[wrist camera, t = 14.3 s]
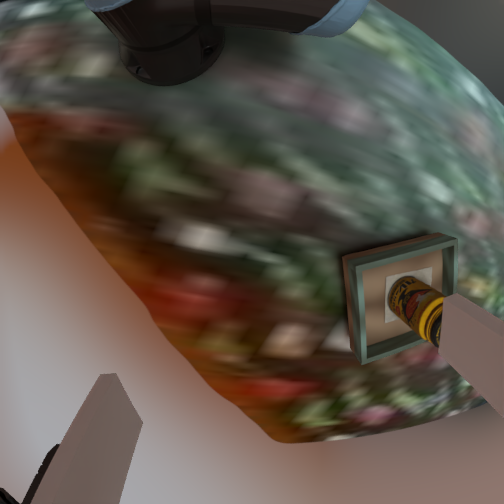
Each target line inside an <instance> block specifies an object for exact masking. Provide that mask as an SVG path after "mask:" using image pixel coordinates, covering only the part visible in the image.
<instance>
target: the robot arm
mask: <svg viewBox="0 0 504 504" xmlns="http://www.w3.org/2000/svg"><path fill="white" fill-rule="evenodd" d="M84 1H85V4H86V6H87V7H88V8H89V9H90V10H91V11H92V12H93V13H94V14H95V15H96V16H97V17H98V18H99V19H100V20H101V21H102V22H103V23H104V24H105V25H106V26H107V28H108V29H109V30H110V31H111V32H112V33H113V34H114V35H115V36H116V37H117V38H118V42H119V53H120V57H121V60H122V62H123V64H124V66H125V67H126V68H127V69H128V71H129V72H130V73H131V74H132V75H133V76H135V77H136V78H137V79H139V80H141V81H143V82H145V83H148V84H151V85H158V86H169V85H176V84H180V83H184V82H186V81H189V80H191V79H193V78H195V77H197V76H199V75H200V74H202V73H203V72H205V71H206V70H207V69H208V68H209V67H210V66H211V65H212V64H213V63H214V62H215V61H216V60H217V58H218V57H219V55H220V53H221V51H222V48H223V45H224V39H225V33H224V26H231V27H246V28H258V29H267V30H276V31H283V32H289V33H290V34H292V35H303V34H305V35H312V36H318V37H325V38H326V37H334V36H336V35H340V34H342V33H344V32H345V31H347V30H348V29H349V28H351V27H352V26H353V25H354V24H355V22H356V21H357V20H358V19H359V17H360V16H361V15H362V13H363V11H364V10H365V8H366V6H367V5H368V3H369V0H84ZM438 354H439V355H440V356H442V357H443V358H444V359H445V360H446V361H447V362H448V363H449V364H450V365H451V366H452V367H453V368H454V369H455V370H456V371H457V372H458V373H459V374H460V375H461V376H462V377H463V378H464V379H465V380H466V381H467V382H468V383H469V384H471V385H472V386H473V387H474V388H475V389H476V390H477V391H478V392H479V393H480V394H481V395H482V396H483V397H484V398H485V400H486V401H487V402H488V403H489V404H490V405H491V406H492V407H493V408H495V410H496V411H497V412H498V413H499V414H500V415H501V416H502V417H503V418H504V322H503V321H502V320H500V319H499V318H497V317H495V316H494V315H492V314H491V313H489V312H487V311H486V310H484V309H482V308H481V307H479V306H478V305H476V304H474V303H473V302H471V301H469V300H468V299H466V298H464V297H462V296H461V295H459V294H457V293H455V294H453V295H450V296H448V297H445V298H443V313H442V325H441V335H440V344H439V352H438ZM142 424H143V422H142V420H141V418H140V417H139V415H138V413H137V412H136V410H135V408H134V406H133V405H132V403H131V401H130V399H129V397H128V395H127V393H126V392H125V390H124V388H123V386H122V384H121V382H120V380H119V378H118V376H117V374H116V373H113V374H101V375H100V376H99V377H98V379H97V381H96V382H95V384H94V386H93V388H92V389H91V391H90V392H89V394H88V396H87V398H86V400H85V401H84V403H83V404H82V406H81V408H80V410H79V411H78V413H77V415H76V417H75V419H74V420H73V422H72V424H71V425H70V427H69V429H68V431H67V433H66V435H65V436H64V438H63V440H62V442H61V444H56V445H55V446H54V447H53V448H52V449H51V450H50V451H49V452H48V453H47V455H46V457H45V459H44V461H43V462H42V464H43V465H41V466H40V468H39V470H38V474H36V476H35V478H34V480H33V482H32V484H31V486H30V488H29V490H28V492H27V494H26V496H25V498H24V500H23V502H22V503H21V504H119V502H120V498H121V494H122V491H123V487H124V484H125V480H126V476H127V473H128V470H129V467H130V463H131V460H132V456H133V453H134V450H135V446H136V443H137V440H138V437H139V433H140V431H141V427H142ZM0 504H19V503H18V502H17V501H16V500H15V499H14V498H13V497H12V496H11V495H10V494H9V493H8V492H6V491H5V490H4V489H3V488H0Z"/></svg>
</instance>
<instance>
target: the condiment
mask: <svg viewBox="0 0 504 504" xmlns="http://www.w3.org/2000/svg"><path fill="white" fill-rule="evenodd" d="M431 282H432V267H429V268H424V269H420V270H416V271H410V272H406V273H401V274H396V275H392V276H388V277H386V292H385V323H388V322H391V321H395V320H398V319H401V320H402V321H403V322H404V323H405V324H406V325H408V326H409V327H410V328H411V329H412V330H413V331H414V332H415V333H416V334H417V335H419V336H420V337H421V338H422V339H424V340H426V341H430V342H431V343H433V344H434V345H435V346H436V347H438V348H439V344H440V335H441V325H442V313H443V298H445V297H447V296H445V295H444V294H442V293H441V292H439V291H437V290H436V289H434V288H432V287H431Z"/></svg>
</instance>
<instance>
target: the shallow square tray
mask: <svg viewBox="0 0 504 504" xmlns="http://www.w3.org/2000/svg"><path fill="white" fill-rule="evenodd" d="M342 262H343V270H344V279H345V289H346V299H347V310H348V322H349V336H350V348H351V350H352V351H353V353H354V354H355V356H356V357H357V359H358V360H359V362H360V363H361V365H363V364H366V363H369V362H372V361H375V360H378V359H381V358H384V357H387V356H390V355H392V354H395V353H398V352H400V351H403V350H406V349H408V348H411V347H413V346H416V345H418V344H421V343H423V342H426V340H424V339H422V338H421V337H420V336H419V335H417V334H416V333H415V332H414V331H413V330H412V329H411V328H410V327H409V326H408V325H406V324H405V323H404V322H403V321H402V320H401V319H398V320H395V321H391V322H388V323H385V292H386V277H388V276H392V275H396V274H401V273H406V272H410V271H416V270H420V269H424V268H429V267H432V282H431V287H432V288H434V289H436V290H437V291H439V292H441V293H442V294H444V295H445V296H447V297H448V296H450V295H453V294H455V293H457V277H458V239H457V238H454V237H451V236H448V235H445V234H442V233H439V232H437V233H434V234H430V235H424V236H420V237H418V238H414V239H410V240H406V241H402V242H398V243H394V244H390V245H386V246H382V247H378V248H374V249H370V250H366V251H362V252H358V253H351V254H347V255H345V256H342Z"/></svg>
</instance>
